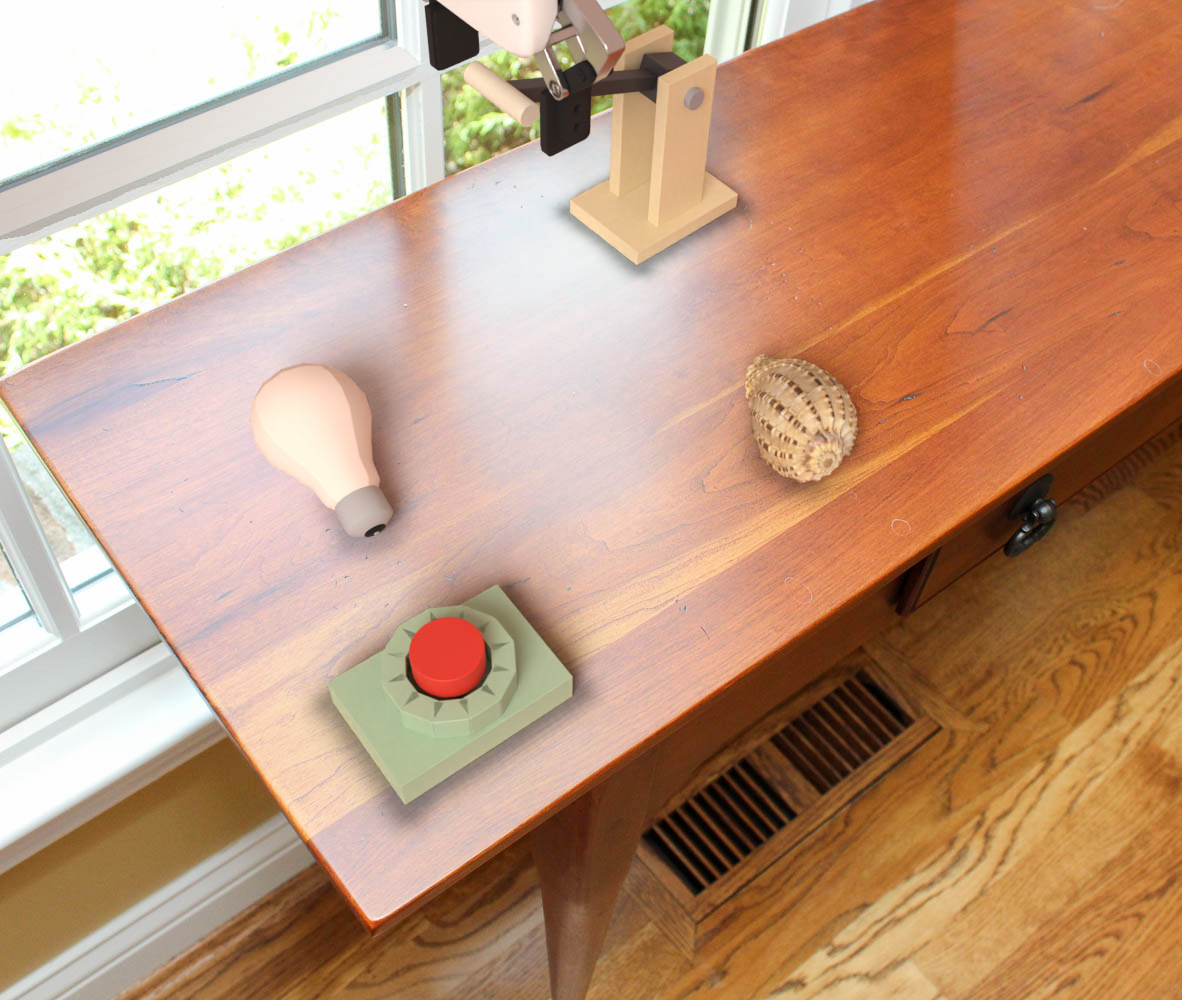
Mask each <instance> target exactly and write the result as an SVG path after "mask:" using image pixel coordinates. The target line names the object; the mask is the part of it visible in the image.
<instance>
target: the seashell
mask: <svg viewBox="0 0 1182 1000" xmlns="http://www.w3.org/2000/svg"><path fill="white" fill-rule="evenodd" d="M744 377H745V378H746V381H745V383H744V389H745V398H746V399H747V405H748V407H749V408H750V409H749V413H750V414H751V424H750V430H751V433H752V436H753V437H754V439H755V440H756V442H757V446H758V450H759V453H760V457H761V458H762V459H763V461H764V463H765V464H766V465H767V466H769V467H770V468H772V469H773V470H774V471H776V472H777V473H778V474H779V475H780V476H782V477H784V478H791V479H793V480H795V481H796V482H797V483H800V484H802V483H803V484H804V483H807V482H819V481H821V480H822V478H824V477H826V476H831V474H832V472H833V471H835V469H837V468H838V467H839V466H840V465H841V464H842V463H843V459H844V457H845V456H850V455H851V453H852V450H853V448H854V445H855V443H856V439H857V437H858V433H859V424H858V411H857V408H856V407H855V404H854V402H853V401H852V399H851V396H850V394H849V393H848V390H846V387H845V386H844V385H843V384H842V383H841V382H840V381H839V379H838V378H837V377H835V376H834V375H833V374H832V373H830V372H829V371H827V370H825V369H824V368H822V367H820V366H818V365H816V364H814V363H813V362H811V361H808V360H805V359H801V358H777V357H773V356H771V355H768V354H766V353H762V354H760V355H757V356H756V357H755V358H753V360H752V362H751V364H749V366H747V368H746V373H745V376H744Z"/></svg>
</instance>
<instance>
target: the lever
mask: <svg viewBox="0 0 1182 1000" xmlns="http://www.w3.org/2000/svg"><path fill="white" fill-rule="evenodd" d="M686 63H688V61H687V60H685V59H684V58H682V57H681V56H679V54H676V53H675V52H674V51H672V52H661V53H648V54H644V55H643V58H642V62H641V65H640V69H633V70H622V71H614V70H613V73H612V74H611V75H610V76H608V77H606V78H604V79H602V80H601V81H599V82H598V83H595V84H593V85H592V86H591V98H592V97H602V96H603V97H604V96H611V95H612V96H613V94H622V93H631V92H640V93H641V94H643V95H644V96H646V97H647V98H648V99H650V100H651V101H653V102H654V103H655V104H656V99H657V85H658V77H660V76H662V75H664V74H666V73H668V72H670V71H672V70H674V69H676V68H678V67H680V66H682V65H684V64H686ZM463 80H464V82H465V83H466V84H467V85H469V86H470V87H471V88H473V89H474V90H475V91H476V92H478V93H479V94H480V95H481V96H482V97H484V98H485V99H487V100H488V101H489V102H491V103H492V104H493V105H494V106H496V107H497V108H498V109H500V110H501V111H502V112H503V113H505V114H507V116H509V117H510V118H511V119H513V120H514V121H515V122H516V123H518V124H519V125H520V126H522V127H525V128H529V127H531V126H533V125H534V124H535V123H536V122H537V121H538V119H539V118H540V105H538V104H537V103H540V92H542V91H543V90H544V89H547V88H548V87H547V85H546V83H545V81H544V78H543V76H541V77H531V78H519V79H510V80H509V79H508V80H507V79H506V80H505V79H504V78H503V77H502V76H501V75H498V74H497V73H496V72H494V70H492V69H491V68H490V67H488V66H487V65H485V64H484V63H483V62H481V61H480V60H474V61H471V62H469V64H467V66H466V67H465V69H464V72H463Z"/></svg>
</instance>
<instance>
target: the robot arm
mask: <svg viewBox="0 0 1182 1000" xmlns="http://www.w3.org/2000/svg"><path fill="white" fill-rule="evenodd" d="M422 1H423V2H424V3H428V4H426V5H424V15H425V16H424V17H425V27H426V38H427V47H428V59H429V65H430V66H431V67H432V68H433V69H435V70H436V71H438V72H440V71H444V70H447V69H449V68H452V67H454V66H457V65H459V64H461V63H463V62H465V61H468V60H470V59H472V58H474V57H477V56H478V55H479V54H480V34H481V35H483V36H484V37H485V38H487V39H488V40H489V41H491V42H492V43H494V44H495V45H497V46H499V47H500V48H501V49H503V50H504V51H506V52H507V53H509V54H510V55H513V56H515V57H518V58H521V59H527V58H531V57H533V58H534V60H535V62H536V65H537V67H538V69H539V71H540V74H541V77H543V78H544V81H545V83H546V85H547V87H548V88H547V89H544V90H543V91H542V92H540V102H539V109H540V114H539V140H540V141H539V144H540V145H539V147H540V149H541V152H542V153H544V154H545V155H546V156H547V157H554V156H556V155H557V154H560V153H561V152H563V151H565V150H567V149H570V148H572V147H573V146H576V145H577V144H579V143H581V142H583V141H585V140H587V139H588V138H589V137H590V135H591V126H592V125H591V124H592V123H591V122H592V97H591V86H592V85H593V84H595V83H598V82H599V81H601V80H602V79H604V78H606V77H608V76H610V75H611V74H612V73H613V71H614V67H615V65H616V64H617V62H618V60H619V59H620V57H621V56H622V54H623V52H624V51H625V42H626V41H625V40H624V38H623V35H621V33H620V31H619V30H618V28H617V27H616V26H615V24H614V23H613V22H612V21H611V19H610V17H609V16H608V15H607V13H606V12H605V11H604V9H603V8H602V6H601V5H600V3H599V2H598V1H597V0H422ZM556 22H557V23H558V24H560V26H561V28H558V29H555V30H554V31H553V29H554V26H555V23H556ZM562 42H565V44H566V46H567V48H568V50H569V53H570V55H571V57H572V61H573V62H574V64H573V65H572V66H570V67H568V68H567V69H565V70H562V69H563V68H562V67H561V64H560V62H559V59H558V57H557V55H556V53H555V50H554V47H553V46H555V45H557V44H559V43H562Z"/></svg>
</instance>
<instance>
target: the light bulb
mask: <svg viewBox="0 0 1182 1000" xmlns="http://www.w3.org/2000/svg"><path fill="white" fill-rule="evenodd" d="M372 418H373V417H372V411H371V409H370V405H369V403H368V399H367V396H366V393H365V392H364V391H363V390H362V388H360V387H359V386H358V385H357V383H355V381H354V380H353V379H352V378H351V377H349V376H348V375H347V374H346V373H344V372H342V371H340V370H338V369H336V368H333V367H331V366H329V365H328V364H324V363H323V364H322V363H309V362H302V363H299V364H295V365H291V366H287V367H284V368H281V369H280V370H278V371H277V372H275V373H274V374H273V375H272V376H271V377H269V378H267V379H266V380H265V381H263V383H262V384H261V386H260V387H259V388H258V391H257V392H256V394H255V396H254V397H253V398H252V400H251V408H250V414H249V425H250V429H251V432H252V435H253V439H254V442H255V446H256V449H257V451H258V452H260V453H261V455H262V456H263V457H264V458H265V460H267V461H268V462H269V464H270V465H271V466H273V467H274V468H276V469H278V470H279V471H281V472H282V473H284V474H287V475H288V476H290V477H292V478H293V479H295V480H296V481H298V482H299V483H301V484H302V485H303V486H305V487H307V489H310V490H311V491H313V492H314V494H316V496H317V497H318V499H319V500H320V501H321V502H322V504H323V505H324V506H325V508H327V509H330V510H333V511H334V513H335V516H336V517H337V518H338V520H339V522H340V524H341V525H342V528H343V529H344V530H345V532H346V534H347V535H348V536H349V537H352V538H371V537H375V536H377V535H379V534H380V533H382V532H383V531H384V530H385V528H386V527H387V525H388V523H389V522H390V520H391V519H392V517H393V515H394V510H393V508H392V506H391V505H390V503H389V501H388V500H387V498H386V496H385V495H384V492H383V491H382V488H380V483H381V478H380V475H379V473H378V471H377V468H376V466H375V463H374V459H373V444H372Z"/></svg>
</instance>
